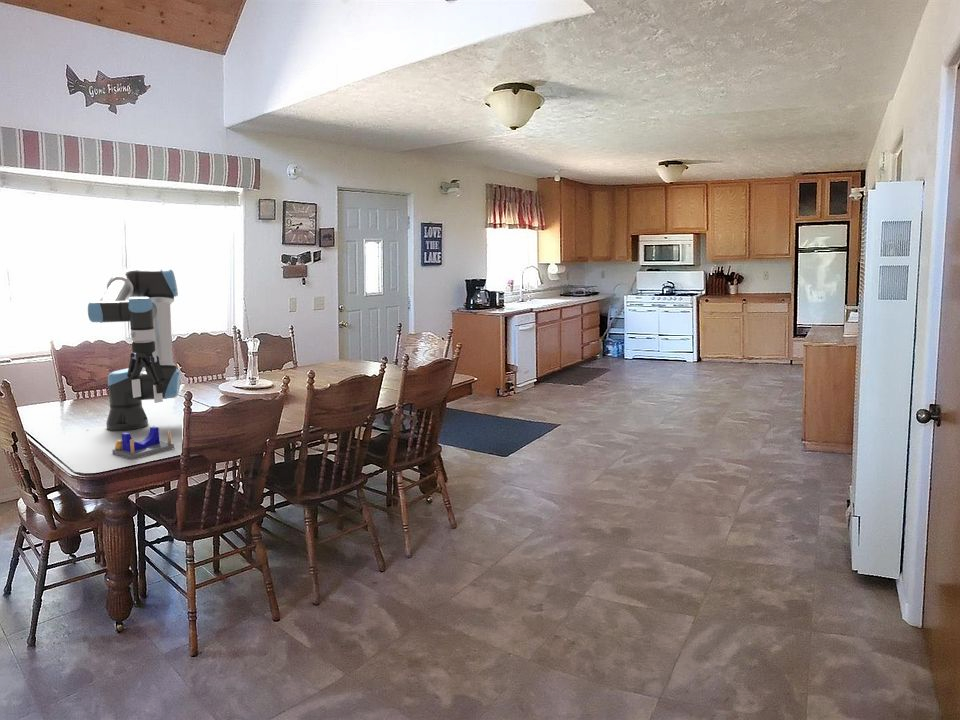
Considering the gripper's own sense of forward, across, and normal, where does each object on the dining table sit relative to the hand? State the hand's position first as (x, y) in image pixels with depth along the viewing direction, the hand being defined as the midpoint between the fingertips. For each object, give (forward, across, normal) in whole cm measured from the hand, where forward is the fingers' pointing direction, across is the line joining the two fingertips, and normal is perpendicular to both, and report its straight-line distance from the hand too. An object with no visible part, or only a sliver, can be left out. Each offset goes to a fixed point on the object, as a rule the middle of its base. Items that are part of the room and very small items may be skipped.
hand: (147, 399), depth 256 cm
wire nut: (+16, -2, -11) cm, 19 cm away
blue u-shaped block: (+16, +3, -5) cm, 17 cm away
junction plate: (+18, +3, -5) cm, 18 cm away
